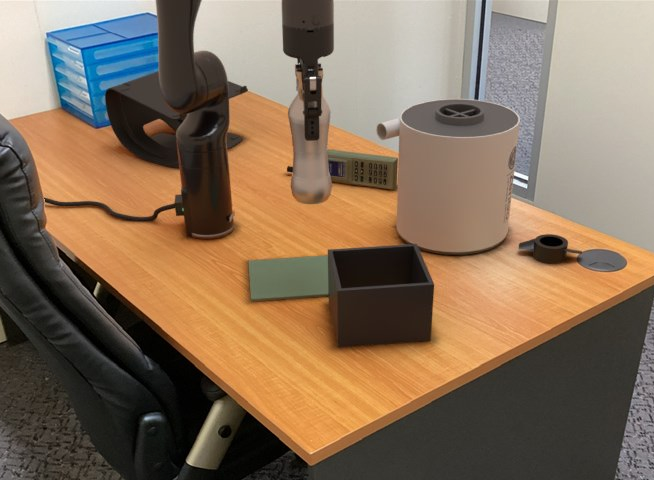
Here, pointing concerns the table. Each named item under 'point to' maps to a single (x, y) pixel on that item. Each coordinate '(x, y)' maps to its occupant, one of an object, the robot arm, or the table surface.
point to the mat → (288, 278)
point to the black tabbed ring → (548, 248)
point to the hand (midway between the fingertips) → (310, 131)
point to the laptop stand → (150, 119)
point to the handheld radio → (362, 169)
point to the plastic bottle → (309, 155)
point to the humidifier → (454, 174)
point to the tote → (380, 295)
